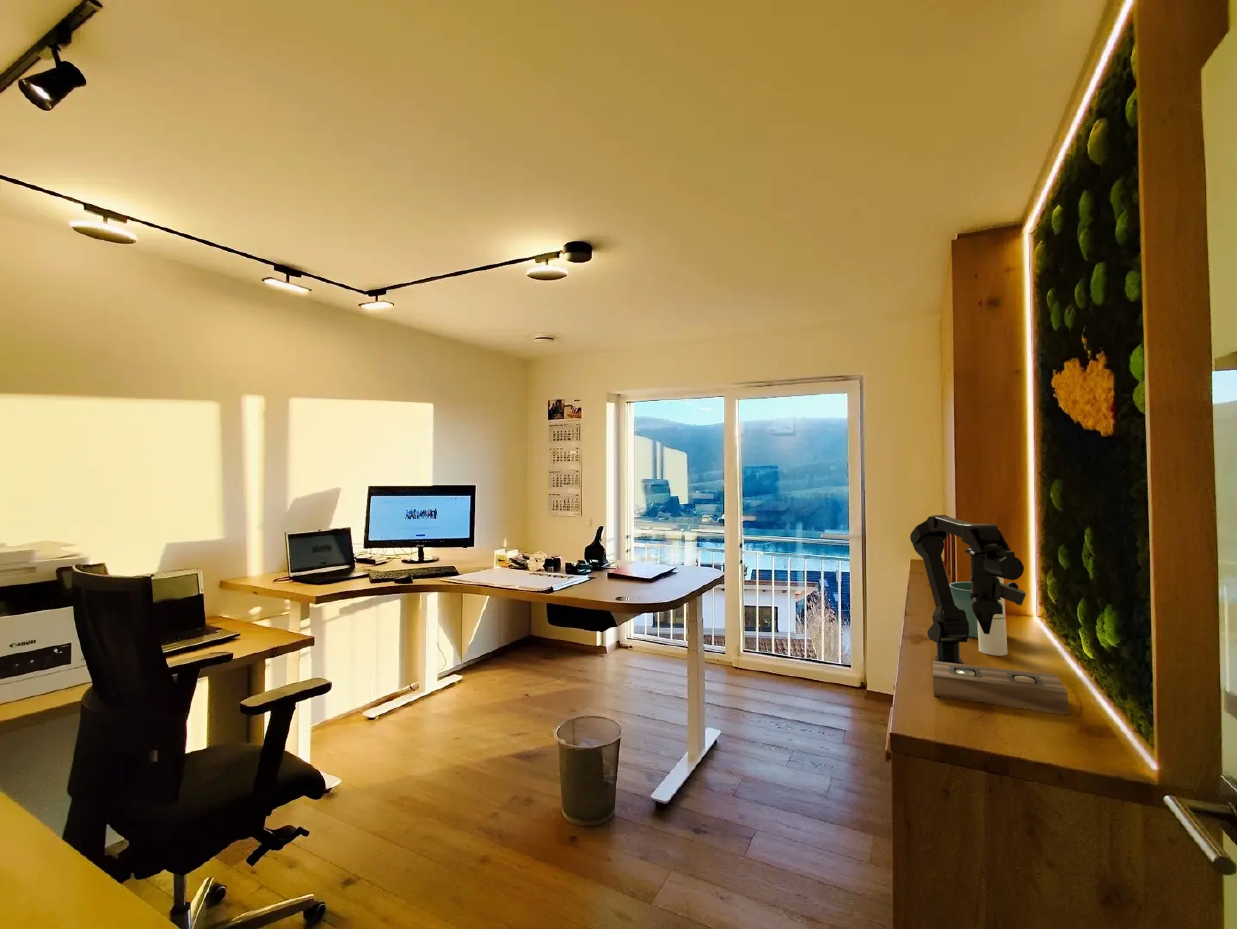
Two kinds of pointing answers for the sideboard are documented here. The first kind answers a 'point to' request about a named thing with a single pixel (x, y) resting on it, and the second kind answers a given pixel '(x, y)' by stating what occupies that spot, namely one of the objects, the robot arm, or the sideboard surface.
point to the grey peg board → (1000, 687)
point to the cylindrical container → (994, 634)
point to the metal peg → (965, 672)
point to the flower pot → (965, 604)
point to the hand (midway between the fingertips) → (986, 633)
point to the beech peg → (1024, 679)
